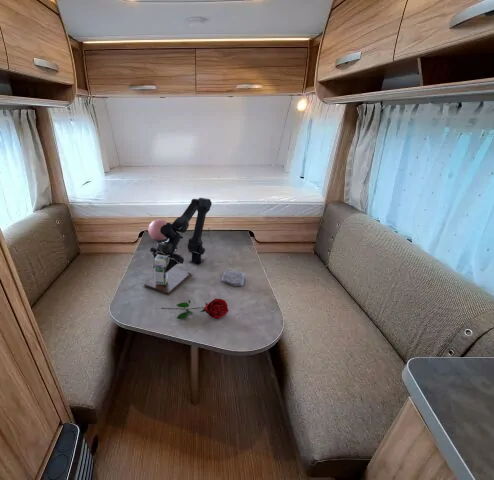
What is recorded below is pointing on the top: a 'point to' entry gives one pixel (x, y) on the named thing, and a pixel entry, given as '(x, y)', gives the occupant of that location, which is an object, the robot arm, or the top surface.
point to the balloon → (156, 229)
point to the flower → (207, 308)
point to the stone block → (233, 278)
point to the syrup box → (161, 269)
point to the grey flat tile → (169, 281)
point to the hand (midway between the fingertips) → (159, 270)
